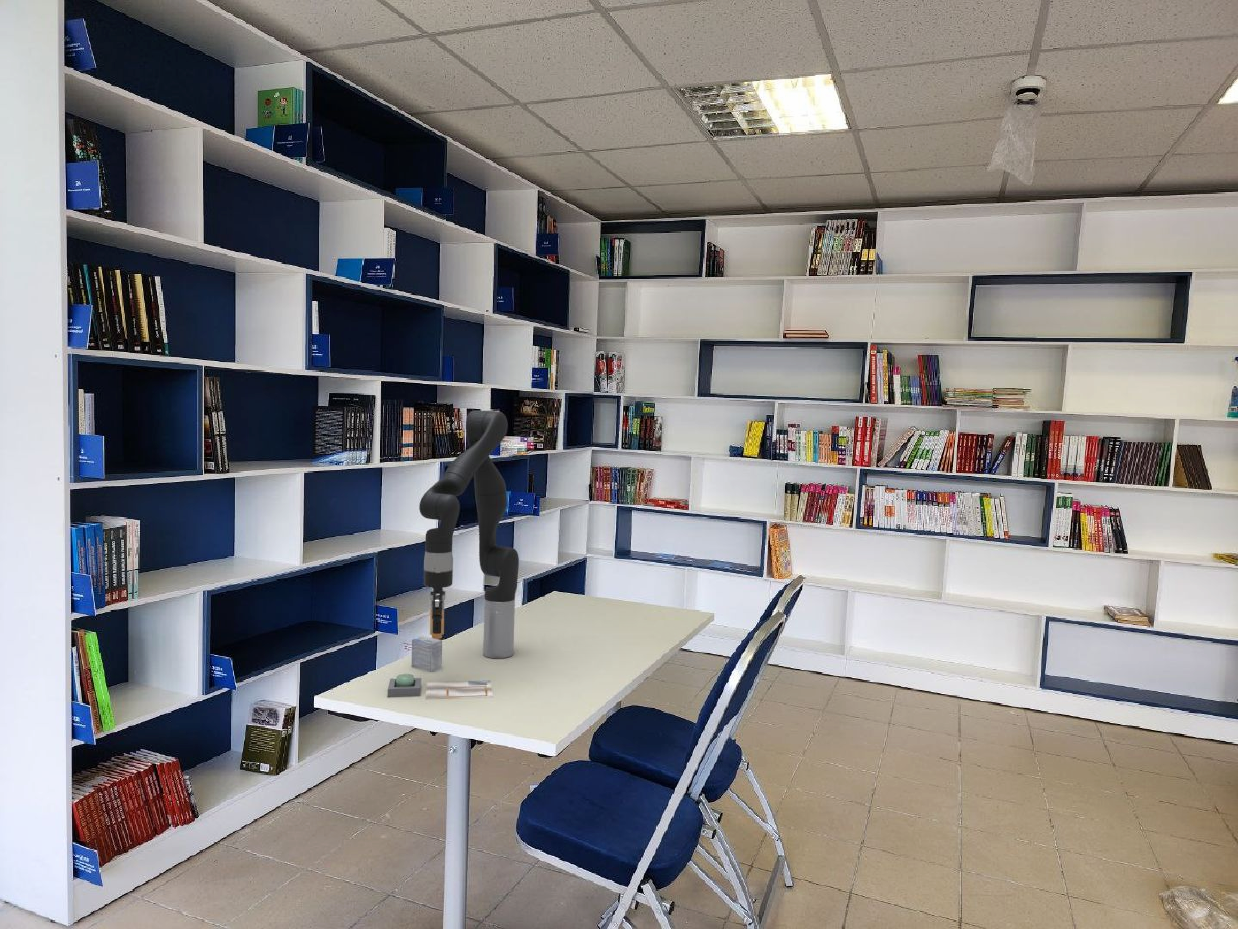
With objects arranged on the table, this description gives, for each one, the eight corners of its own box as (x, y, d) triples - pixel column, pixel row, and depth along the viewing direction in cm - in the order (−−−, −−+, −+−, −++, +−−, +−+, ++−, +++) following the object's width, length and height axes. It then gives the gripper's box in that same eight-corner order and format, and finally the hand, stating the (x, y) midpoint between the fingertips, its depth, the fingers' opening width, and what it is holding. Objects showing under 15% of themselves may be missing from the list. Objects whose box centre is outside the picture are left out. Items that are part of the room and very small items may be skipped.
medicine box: (442, 669, 230) (443, 640, 229) (431, 673, 226) (431, 643, 225) (422, 664, 234) (422, 635, 233) (410, 668, 230) (411, 638, 229)
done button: (396, 683, 212) (396, 674, 212) (413, 683, 213) (414, 673, 213) (395, 689, 208) (395, 680, 207) (413, 688, 208) (413, 679, 208)
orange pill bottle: (430, 635, 217) (430, 602, 216) (443, 635, 218) (444, 602, 217) (429, 639, 213) (429, 606, 213) (443, 639, 214) (444, 606, 213)
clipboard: (423, 683, 218) (423, 681, 218) (493, 680, 222) (494, 679, 222) (421, 701, 204) (421, 700, 204) (496, 699, 208) (496, 697, 208)
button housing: (390, 688, 213) (390, 678, 213) (421, 687, 215) (421, 677, 215) (387, 698, 205) (387, 689, 205) (419, 697, 207) (420, 688, 207)
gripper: (425, 562, 220) (423, 624, 221) (422, 573, 206) (421, 639, 208) (452, 562, 222) (451, 624, 223) (452, 573, 208) (451, 638, 209)
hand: (437, 631), depth 215 cm, fingers closed on orange pill bottle, 3 cm apart
